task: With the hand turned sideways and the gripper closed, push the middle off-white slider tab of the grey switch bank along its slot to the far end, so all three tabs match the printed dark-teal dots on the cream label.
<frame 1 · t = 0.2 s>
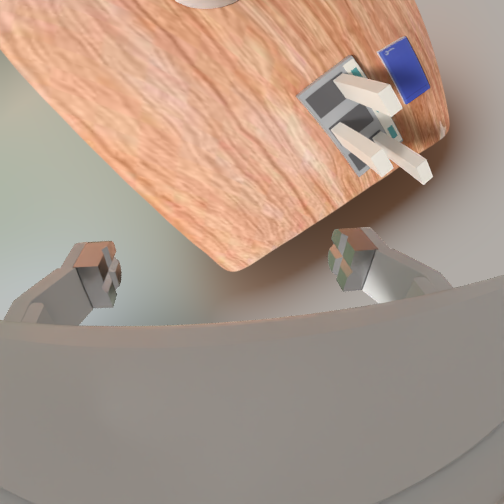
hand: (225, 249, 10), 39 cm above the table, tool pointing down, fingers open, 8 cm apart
tab 2: (359, 146, 40), point 9 cm above the table, slide at 0.0 cm
tab 1: (364, 91, 34), point 9 cm above the table, slide at 6.0 cm
switch base: (349, 122, 45), on the table
hard drive: (402, 69, 39), on the table
tab 3: (401, 155, 41), point 9 cm above the table, slide at 6.0 cm
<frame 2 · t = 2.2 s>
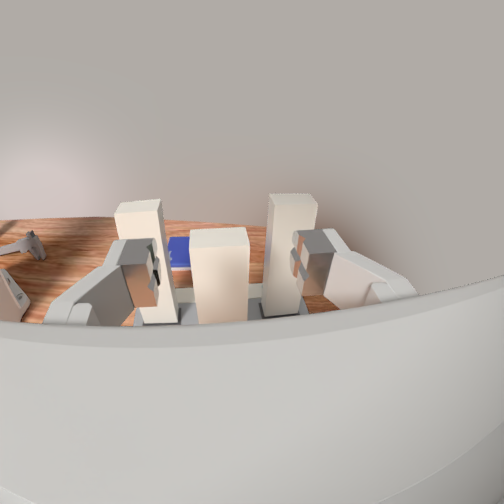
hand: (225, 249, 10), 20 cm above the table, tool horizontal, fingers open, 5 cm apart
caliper: (16, 258, 41), on the table
tab 2: (221, 308, 23), point 8 cm above the table, slide at 0.0 cm
tab 1: (149, 268, 27), point 8 cm above the table, slide at 6.0 cm
switch base: (223, 340, 30), on the table
hard drive: (205, 257, 44), on the table
tab 3: (285, 260, 29), point 8 cm above the table, slide at 6.0 cm
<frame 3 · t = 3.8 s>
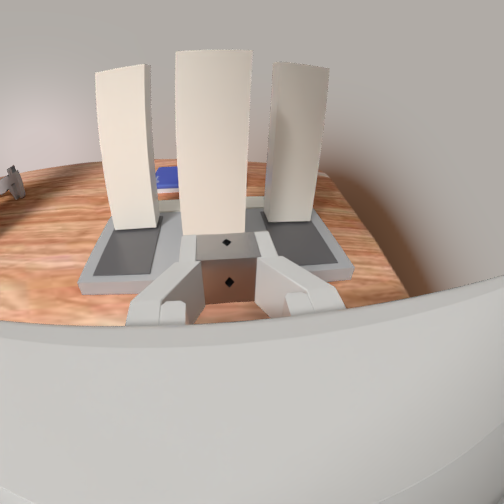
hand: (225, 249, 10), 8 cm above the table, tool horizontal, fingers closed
tab 2: (212, 163, 16), point 9 cm above the table, slide at 0.0 cm
tab 1: (127, 149, 20), point 8 cm above the table, slide at 6.0 cm
switch base: (213, 250, 24), on the table
hard drive: (197, 185, 38), on the table
tab 3: (294, 143, 22), point 8 cm above the table, slide at 6.0 cm
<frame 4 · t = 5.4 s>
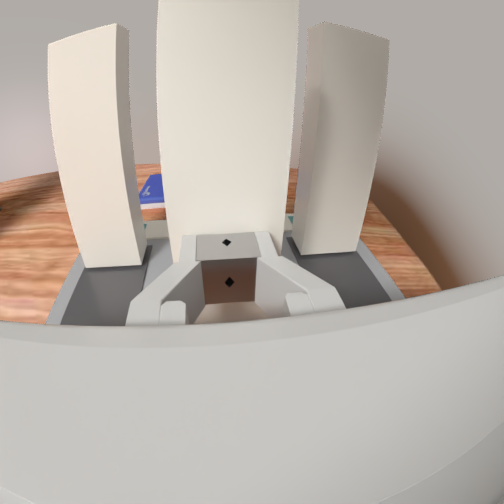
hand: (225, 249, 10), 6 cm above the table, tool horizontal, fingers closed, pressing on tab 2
tab 2: (223, 169, 9), point 9 cm above the table, slide at 0.6 cm, touching gripper
tab 1: (95, 152, 13), point 8 cm above the table, slide at 6.0 cm
switch base: (224, 298, 16), on the table
hard drive: (198, 196, 30), on the table
tab 3: (339, 143, 15), point 8 cm above the table, slide at 6.0 cm
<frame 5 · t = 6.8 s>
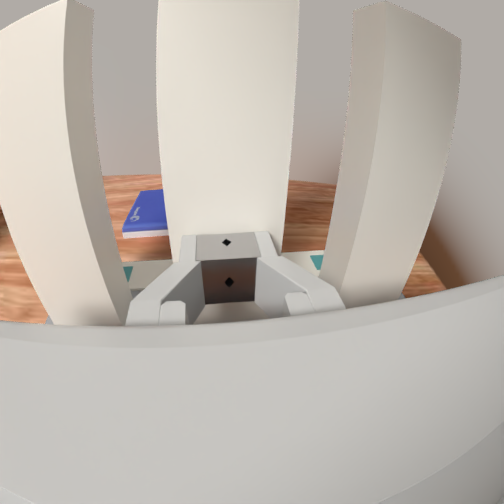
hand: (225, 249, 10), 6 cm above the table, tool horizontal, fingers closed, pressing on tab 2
tab 2: (223, 169, 9), point 8 cm above the table, slide at 6.0 cm, touching gripper
tab 1: (49, 189, 8), point 8 cm above the table, slide at 6.0 cm
switch base: (234, 378, 12), on the table
hard drive: (197, 218, 26), on the table
tab 3: (392, 175, 10), point 8 cm above the table, slide at 6.0 cm
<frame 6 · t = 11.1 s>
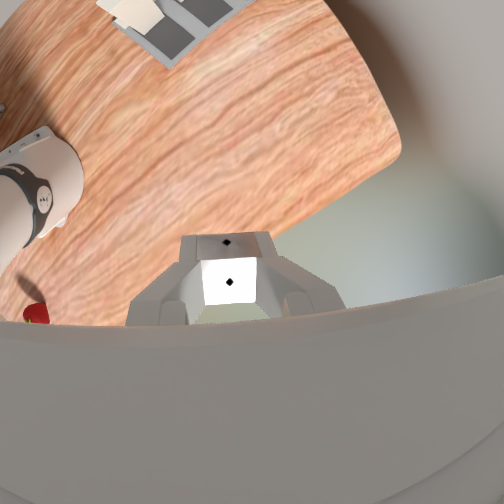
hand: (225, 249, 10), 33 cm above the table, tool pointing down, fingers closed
strawberry: (44, 303, 52), on the table
tab 1: (135, 9, 20), point 8 cm above the table, slide at 6.0 cm
switch base: (201, 3, 26), on the table
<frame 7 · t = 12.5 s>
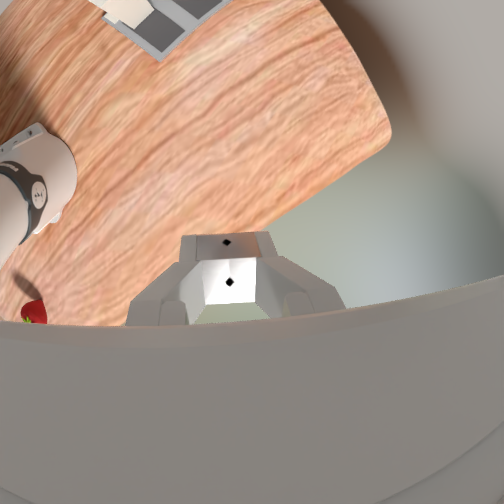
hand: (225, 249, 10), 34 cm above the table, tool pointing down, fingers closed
strawberry: (41, 300, 51), on the table
tab 1: (125, 4, 19), point 9 cm above the table, slide at 6.0 cm
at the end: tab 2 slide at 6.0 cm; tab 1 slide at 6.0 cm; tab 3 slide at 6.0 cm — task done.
